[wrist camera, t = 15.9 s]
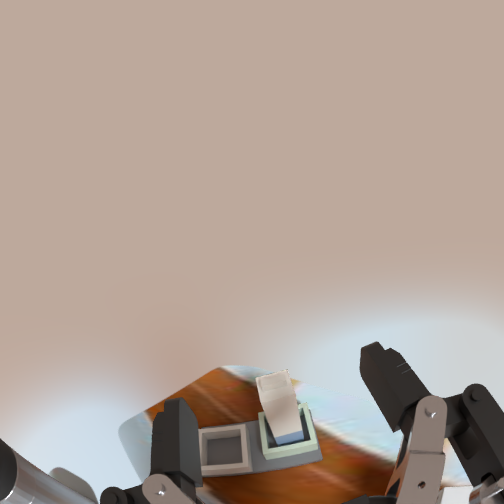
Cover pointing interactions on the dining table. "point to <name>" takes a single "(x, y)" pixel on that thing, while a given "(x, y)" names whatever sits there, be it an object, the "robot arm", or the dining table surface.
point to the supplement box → (454, 495)
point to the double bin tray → (255, 447)
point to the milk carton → (280, 407)
